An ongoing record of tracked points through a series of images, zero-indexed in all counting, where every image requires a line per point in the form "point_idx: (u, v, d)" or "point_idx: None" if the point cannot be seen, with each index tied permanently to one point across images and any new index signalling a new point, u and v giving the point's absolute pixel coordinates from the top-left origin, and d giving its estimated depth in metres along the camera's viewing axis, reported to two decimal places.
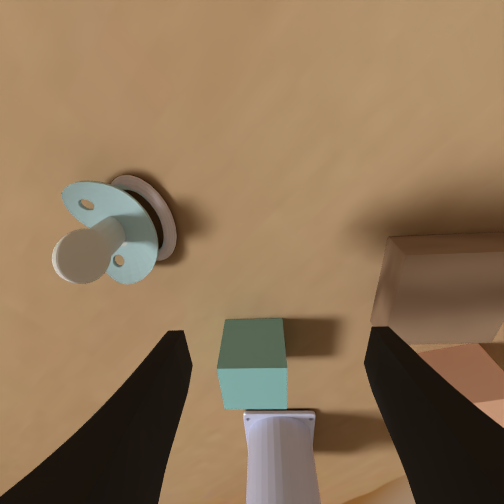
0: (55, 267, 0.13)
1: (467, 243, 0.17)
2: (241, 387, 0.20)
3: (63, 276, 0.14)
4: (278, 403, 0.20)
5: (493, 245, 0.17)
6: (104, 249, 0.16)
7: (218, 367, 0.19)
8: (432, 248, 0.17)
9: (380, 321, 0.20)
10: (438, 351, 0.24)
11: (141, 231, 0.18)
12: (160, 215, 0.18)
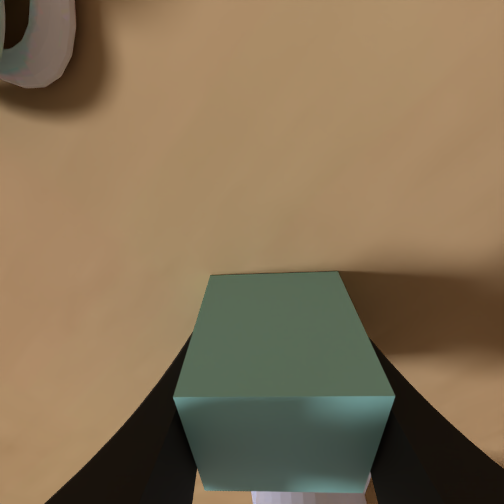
0: None
1: None
2: (249, 445, 0.07)
3: None
4: (344, 481, 0.08)
5: None
6: None
7: (179, 392, 0.06)
8: None
9: None
10: None
11: None
12: None
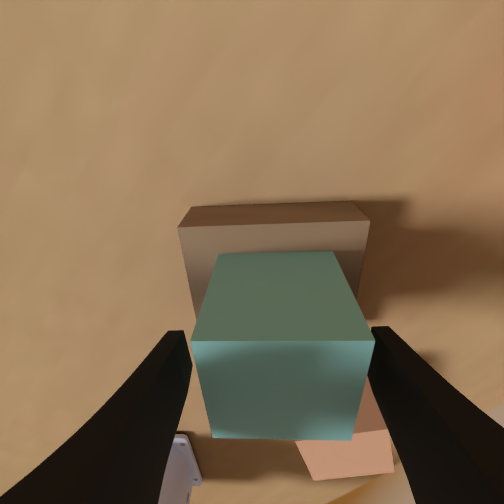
0: None
1: (279, 213, 0.12)
2: (252, 389, 0.08)
3: None
4: (335, 428, 0.09)
5: (311, 215, 0.11)
6: None
7: (195, 338, 0.07)
8: (226, 218, 0.12)
9: None
10: None
11: None
12: None
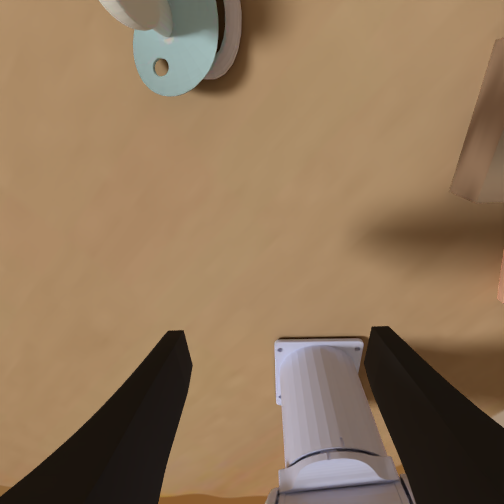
0: None
1: None
2: None
3: None
4: None
5: None
6: None
7: None
8: None
9: (472, 174, 0.15)
10: None
11: (196, 13, 0.13)
12: None
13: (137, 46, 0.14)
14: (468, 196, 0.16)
